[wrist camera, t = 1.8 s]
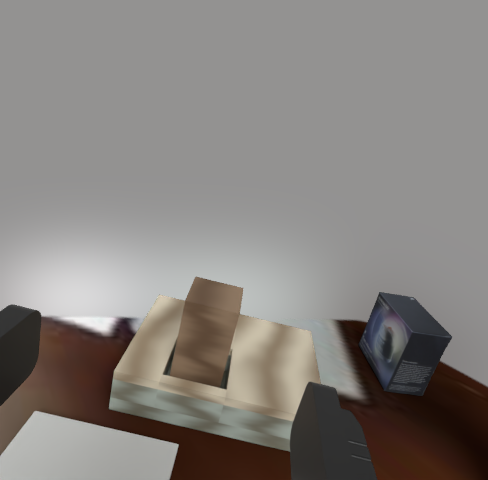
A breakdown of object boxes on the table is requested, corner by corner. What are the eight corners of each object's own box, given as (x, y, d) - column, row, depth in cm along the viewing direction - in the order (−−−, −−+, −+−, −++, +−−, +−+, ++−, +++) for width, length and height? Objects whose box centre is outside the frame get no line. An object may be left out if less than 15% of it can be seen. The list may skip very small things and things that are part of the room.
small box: (355, 344, 61) (377, 289, 58) (390, 349, 62) (414, 296, 59) (382, 391, 51) (411, 329, 48) (424, 397, 52) (455, 336, 49)
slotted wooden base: (300, 359, 54) (310, 331, 52) (313, 457, 39) (328, 421, 37) (153, 324, 53) (159, 294, 52) (108, 409, 38) (114, 371, 37)
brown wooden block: (220, 373, 45) (243, 288, 41) (214, 407, 40) (239, 313, 36) (177, 363, 45) (195, 276, 41) (165, 396, 40) (185, 300, 35)
